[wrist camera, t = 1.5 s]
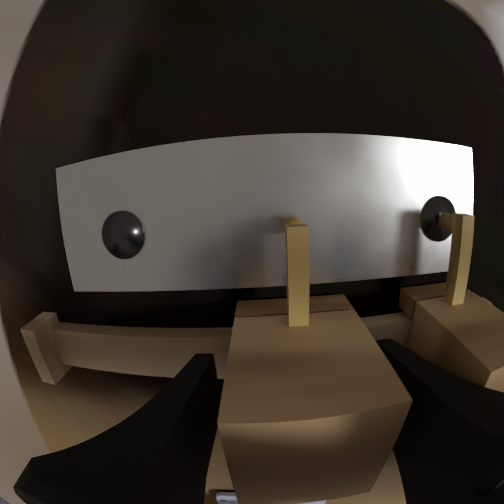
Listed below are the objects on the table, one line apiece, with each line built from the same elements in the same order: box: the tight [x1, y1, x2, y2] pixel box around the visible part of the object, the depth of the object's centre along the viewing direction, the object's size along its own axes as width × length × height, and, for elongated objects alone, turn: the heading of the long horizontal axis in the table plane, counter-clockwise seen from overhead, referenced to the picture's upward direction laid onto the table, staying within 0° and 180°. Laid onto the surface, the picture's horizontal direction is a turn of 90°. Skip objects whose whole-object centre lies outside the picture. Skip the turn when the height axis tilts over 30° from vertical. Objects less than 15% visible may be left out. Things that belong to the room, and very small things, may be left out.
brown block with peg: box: [217, 216, 413, 504], centre depth 8 cm, size 8×4×6 cm, turn 4°
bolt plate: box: [56, 133, 473, 291], centre depth 10 cm, size 5×17×1 cm, turn 94°
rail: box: [20, 297, 492, 385], centre depth 10 cm, size 3×22×2 cm, turn 94°
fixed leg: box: [398, 213, 504, 392], centre depth 7 cm, size 8×3×6 cm, turn 4°
